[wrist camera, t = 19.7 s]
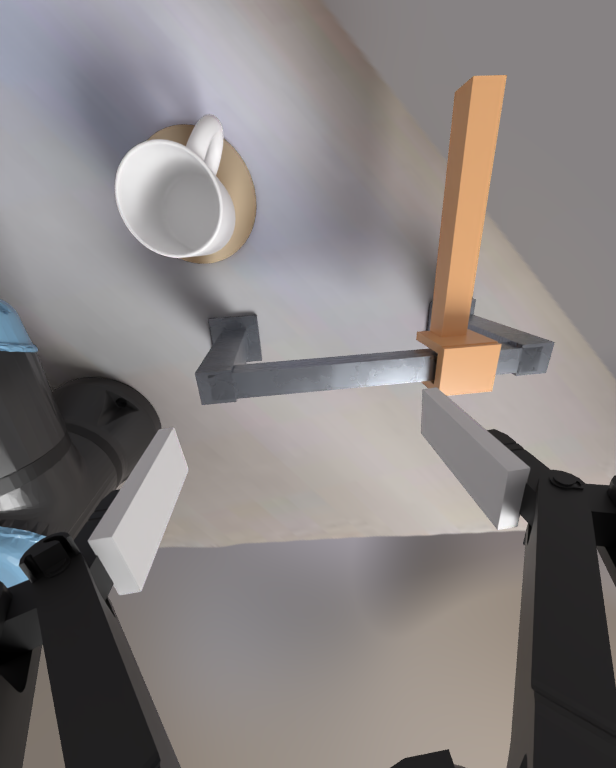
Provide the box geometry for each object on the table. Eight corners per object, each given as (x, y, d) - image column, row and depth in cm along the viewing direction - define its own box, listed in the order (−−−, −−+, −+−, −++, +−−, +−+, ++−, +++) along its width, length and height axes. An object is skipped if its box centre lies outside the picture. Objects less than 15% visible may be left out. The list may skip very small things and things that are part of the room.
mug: (187, 113, 31) (149, 53, 21) (263, 163, 33) (259, 129, 24) (148, 231, 34) (101, 224, 25) (219, 268, 37) (200, 276, 27)
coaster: (151, 266, 36) (149, 267, 36) (117, 128, 31) (114, 126, 31) (262, 259, 37) (262, 259, 37) (248, 124, 32) (247, 122, 31)
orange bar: (413, 374, 33) (438, 397, 28) (438, 92, 23) (482, 50, 18) (458, 370, 33) (491, 392, 28) (501, 90, 24) (562, 48, 19)
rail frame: (217, 362, 42) (188, 421, 28) (209, 318, 39) (172, 357, 25) (466, 341, 44) (556, 385, 30) (473, 298, 42) (574, 324, 28)
